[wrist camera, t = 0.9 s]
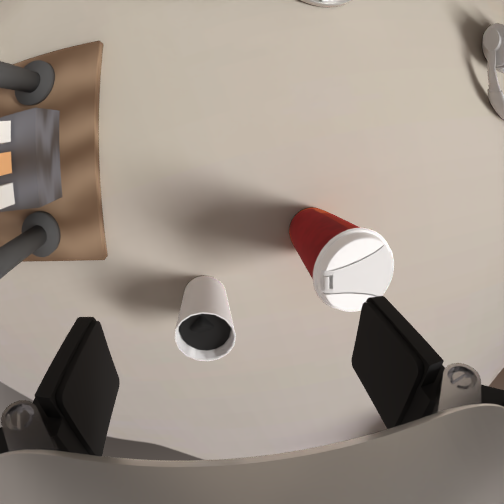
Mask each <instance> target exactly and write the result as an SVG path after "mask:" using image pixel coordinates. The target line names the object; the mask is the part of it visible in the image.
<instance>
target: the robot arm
mask: <svg viewBox="0 0 504 504" xmlns="http://www.w3.org/2000/svg"><path fill="white" fill-rule="evenodd" d="M301 1H303V2H305V3H308V4H311V5H315V6H320V7H337V6H341V5H344V4H346V3H348V2H350V1H351V0H301ZM442 364H443V359H442V358H441V357H440V356H439V355H438V354H437V353H436V352H435V350H434V349H433V348H432V347H431V346H430V345H429V344H428V343H427V342H426V341H425V339H424V338H423V337H422V336H421V335H420V334H419V333H418V332H417V331H416V330H415V329H414V328H413V326H412V325H411V324H410V323H409V322H408V321H407V320H406V319H405V318H404V317H403V316H402V315H401V314H400V313H399V312H398V311H397V310H396V308H395V307H394V306H393V305H392V304H391V303H390V302H389V301H388V300H387V299H386V298H385V297H384V296H377V297H370V298H368V299H367V300H366V302H364V303H363V305H362V309H361V315H360V321H359V326H358V331H357V336H356V341H355V346H354V351H353V355H352V366H353V368H354V370H355V372H356V374H357V375H358V377H359V379H360V381H361V382H362V384H363V386H364V388H365V389H366V391H367V393H368V395H369V396H370V398H371V400H372V402H373V404H374V405H375V407H376V409H377V411H378V413H379V414H380V416H381V418H382V420H383V422H384V423H385V425H386V427H387V429H386V430H383V431H380V432H376V433H373V434H369V435H366V436H362V437H358V438H355V439H351V440H347V441H343V442H338V443H334V444H329V445H325V446H320V447H315V448H310V449H304V450H299V451H293V452H286V453H280V454H273V455H265V456H256V457H247V458H235V459H221V460H199V461H162V460H160V461H159V460H139V459H125V458H113V457H103V456H102V453H103V448H104V444H105V440H106V435H107V431H108V427H109V423H110V419H111V415H112V411H113V407H114V404H115V400H116V396H117V392H118V389H119V377H118V374H117V371H116V369H115V366H114V363H113V360H112V357H111V354H110V352H109V349H108V346H107V342H106V339H105V336H104V333H103V330H102V327H101V324H100V322H99V321H96V320H95V318H94V317H79V318H78V319H77V320H76V322H75V323H74V325H73V327H72V328H71V330H70V332H69V333H68V335H67V337H66V339H65V340H64V342H63V344H62V345H61V347H60V349H59V351H58V352H57V354H56V356H55V358H54V360H53V361H52V363H51V365H50V367H49V369H48V371H47V372H46V374H45V376H44V378H43V380H42V382H41V384H40V386H39V388H38V390H37V392H36V394H35V399H34V401H33V403H32V402H30V401H27V400H20V401H16V402H14V403H12V404H11V405H9V406H8V407H7V408H6V409H5V410H4V412H3V414H2V417H1V424H2V427H1V428H0V504H504V390H500V389H496V388H492V387H488V386H484V385H481V379H480V376H479V374H478V372H477V371H476V370H475V369H474V368H472V367H470V366H469V365H466V364H461V363H454V364H451V365H448V366H447V367H446V368H445V367H444V366H443V365H442Z"/></svg>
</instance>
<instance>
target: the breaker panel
mask: <svg viewBox="0 0 504 504" xmlns="http://www.w3.org/2000/svg"><path fill="white" fill-rule="evenodd" d="M102 51H103V43H102V42H100V41H95V42H91V43H86V44H81V45H77V46H73V47H69V48H65V49H61V50H57V51H53V52H50V53H47V54H43V55H40V56H37V57H34V58H30V59H27V60H24V61H22V62H19V63H16V64H13V65H15V66H18V67H22V68H24V67H25V66H26V65H27V64H29V63H30V62H32V61H35V60H42V61H45V62H47V63H49V64H50V65H51V66H52V67H53V69H54V72H55V81H54V85H53V88H52V90H51V92H50V94H49V95H48V96H47V98H46V99H45V100H43V101H42V102H41V103H39V104H37V105H33V106H30V105H23V104H21V103H20V102H18V100H17V99H16V96H15V90H10V89H4V88H0V121H11V142H8V143H4V144H0V153H5V152H11V163H12V173H10V174H6V175H2V176H0V185H3V184H7V183H13V190H14V199H15V204H13V205H11V206H8V207H5V208H3V209H0V247H1V246H3V245H4V244H6V243H7V242H9V241H10V240H12V239H14V238H15V237H17V236H18V235H20V234H22V232H21V231H22V225H23V222H24V220H25V219H26V217H27V216H29V215H30V214H32V213H34V212H37V211H45V212H47V213H49V214H51V215H52V216H53V217H54V218H55V220H56V221H57V223H58V225H59V228H60V234H61V238H60V243H59V246H58V247H57V249H56V250H55V251H54V252H53V253H51V254H50V255H49V256H46V257H37V256H35V255H33V254H30V255H29V256H28V257H27V258H25V259H24V260H23V261H74V260H105V258H106V257H107V256H108V255H107V248H106V240H105V232H104V223H103V213H102V201H101V187H100V169H99V92H100V75H101V62H102Z"/></svg>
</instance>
